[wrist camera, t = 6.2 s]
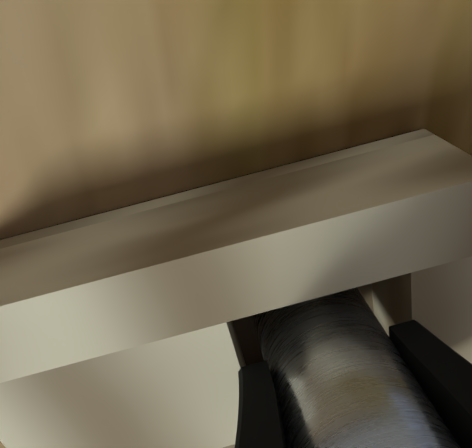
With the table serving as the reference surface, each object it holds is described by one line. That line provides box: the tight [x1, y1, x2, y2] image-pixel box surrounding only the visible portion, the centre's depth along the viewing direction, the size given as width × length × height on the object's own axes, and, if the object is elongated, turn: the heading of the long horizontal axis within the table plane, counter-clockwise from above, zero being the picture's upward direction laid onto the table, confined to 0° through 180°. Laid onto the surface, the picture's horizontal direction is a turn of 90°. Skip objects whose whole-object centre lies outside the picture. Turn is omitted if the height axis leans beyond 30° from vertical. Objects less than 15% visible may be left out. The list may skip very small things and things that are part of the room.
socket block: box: [0, 129, 472, 448], centre depth 13 cm, size 12×12×3 cm
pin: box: [252, 287, 460, 448], centre depth 9 cm, size 3×3×8 cm
